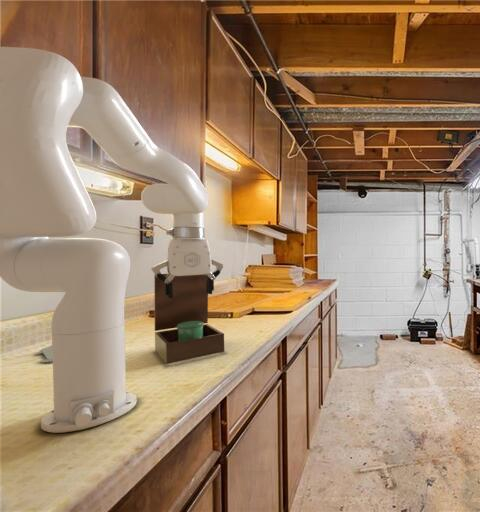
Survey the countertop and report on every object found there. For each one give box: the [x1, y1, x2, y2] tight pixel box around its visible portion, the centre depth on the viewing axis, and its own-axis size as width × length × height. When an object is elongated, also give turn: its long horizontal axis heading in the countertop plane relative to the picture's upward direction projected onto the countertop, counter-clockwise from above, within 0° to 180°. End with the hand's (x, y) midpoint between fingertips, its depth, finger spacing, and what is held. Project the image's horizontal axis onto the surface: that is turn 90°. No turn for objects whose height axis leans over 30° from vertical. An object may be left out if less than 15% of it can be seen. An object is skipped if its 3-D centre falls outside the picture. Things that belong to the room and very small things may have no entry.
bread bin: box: [154, 323, 225, 365], centre depth 89 cm, size 16×14×6 cm
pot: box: [176, 321, 205, 341], centre depth 88 cm, size 6×6×8 cm
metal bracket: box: [35, 344, 53, 364], centre depth 91 cm, size 14×6×15 cm
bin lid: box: [153, 272, 209, 332], centre depth 94 cm, size 16×14×1 cm
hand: (190, 295), depth 88 cm, fingers open, 9 cm apart
